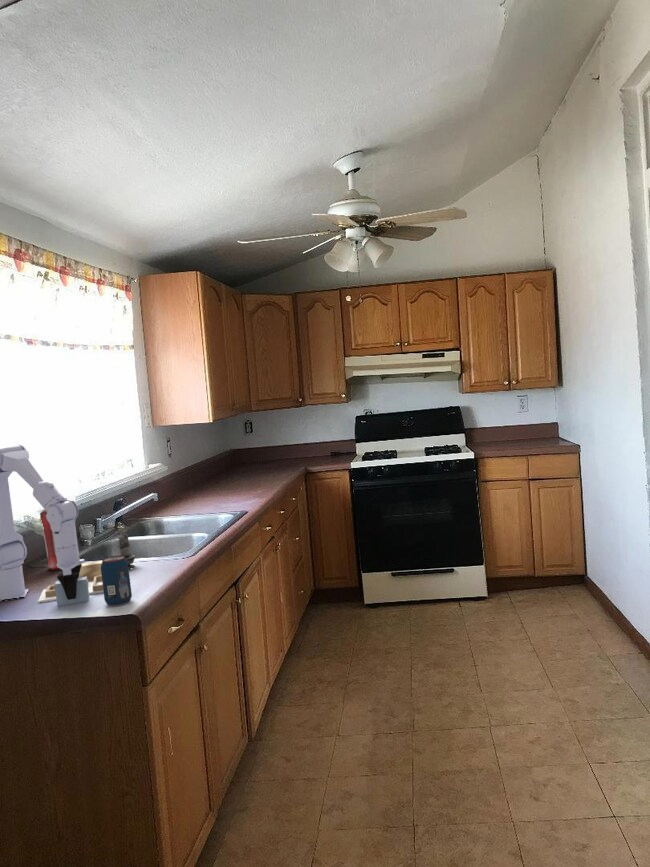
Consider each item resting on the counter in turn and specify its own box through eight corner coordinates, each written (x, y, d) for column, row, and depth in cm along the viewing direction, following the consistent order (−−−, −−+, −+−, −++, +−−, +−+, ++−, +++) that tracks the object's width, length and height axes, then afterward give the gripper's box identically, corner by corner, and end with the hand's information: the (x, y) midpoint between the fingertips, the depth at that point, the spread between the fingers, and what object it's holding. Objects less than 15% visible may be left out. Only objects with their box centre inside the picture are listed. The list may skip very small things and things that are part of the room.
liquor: (56, 565, 241) (46, 483, 239) (75, 564, 239) (64, 482, 237) (42, 571, 234) (31, 487, 232) (61, 570, 232) (50, 485, 230)
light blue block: (57, 606, 190) (54, 584, 190) (58, 602, 194) (55, 581, 193) (88, 601, 192) (86, 579, 192) (89, 597, 196) (86, 576, 195)
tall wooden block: (77, 583, 213) (75, 567, 213) (78, 580, 217) (75, 564, 216) (108, 578, 216) (106, 562, 215) (108, 575, 219) (106, 559, 219)
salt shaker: (129, 564, 231) (124, 528, 230) (140, 566, 227) (135, 529, 226) (113, 569, 226) (109, 532, 225) (124, 571, 222) (120, 533, 222)
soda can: (112, 599, 191) (107, 555, 191) (136, 598, 190) (131, 554, 190) (100, 607, 185) (94, 562, 184) (125, 606, 184) (120, 560, 183)
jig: (38, 603, 195) (37, 595, 195) (43, 591, 207) (42, 584, 207) (117, 590, 201) (116, 582, 200) (118, 579, 213) (117, 572, 213)
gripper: (80, 548, 186) (86, 599, 187) (83, 538, 200) (89, 586, 201) (51, 553, 184) (58, 604, 185) (57, 542, 198) (63, 590, 199)
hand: (72, 595), depth 193 cm, fingers open, 7 cm apart
